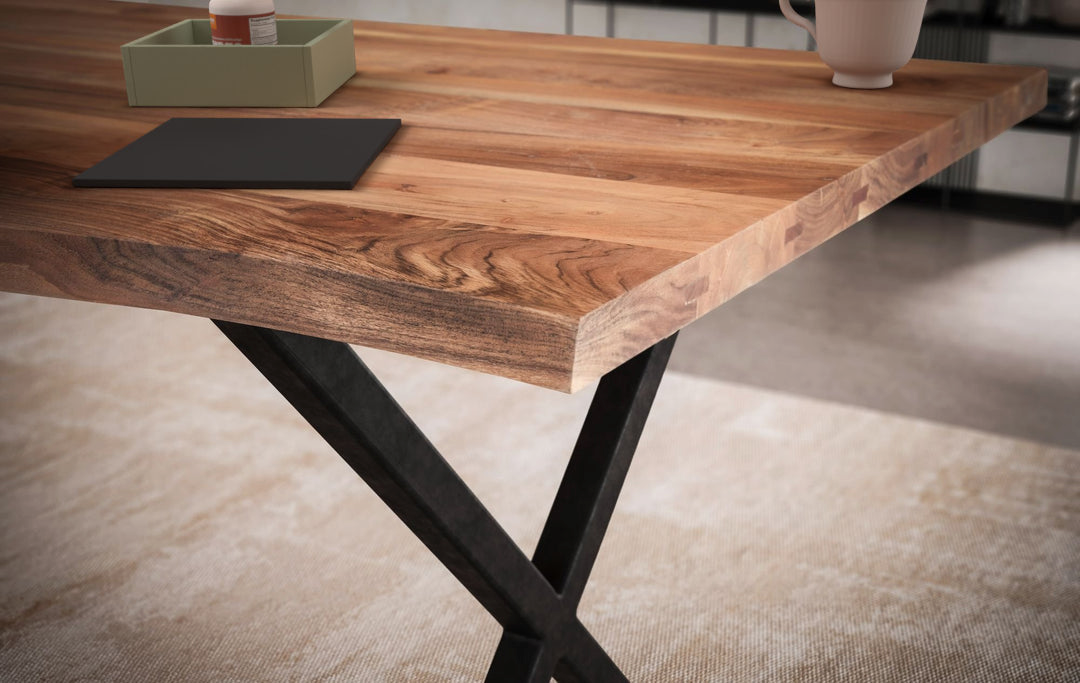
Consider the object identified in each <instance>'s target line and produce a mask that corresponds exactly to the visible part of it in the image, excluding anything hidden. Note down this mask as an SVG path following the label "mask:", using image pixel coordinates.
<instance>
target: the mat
mask: <svg viewBox="0 0 1080 683" xmlns="http://www.w3.org/2000/svg"><path fill="white" fill-rule="evenodd" d="M402 124H403V123H402V118H378V117H377V118H376V117H375V118H372V117H371V118H366V117H365V118H360V117H357V118H356V117H355V118H354V117H353V118H350V117H345V118H343V117H342V118H341V117H338V118H337V117H312V118H311V117H171V118H169V119H168V120H166V121H164V122H162V123H161V124H159V125H157V126H156V127H154V128H153V129H151V130H150V131H148V132H145V134H143V135H141V136H140V137H138V138H137V139H135V140H133V141H132V142H130V143H128V144H127V145H125V146H123V147H122V148H120V149H117V151H115V152H113V153H112V154H110V155H109V156H107V157H105V158H104V159H102V160H100V161H99V162H97V163H95V164H94V165H92V166H90V167H88V168H87V169H86V170H84V171H83V172H81V173H79V174H77V175H76V176H74V177H73V178H71V182H72V187H74V188H78V187H80V188H172V189H173V188H174V189H175V188H177V189H178V188H179V189H180V188H181V189H182V188H183V189H186V188H187V189H282V190H283V189H284V190H285V189H286V190H287V189H288V190H291V189H293V190H295V189H297V190H298V189H299V190H352V189H353V187H354V186H355V185H356V184H357V182H358V181H359V180H360V179H361V177H362V176H363V175H364V173H365V172H366V171H367V170H368V169H369V167H370V166H371V165H372V164H373V162H374V161H375V160H376V158H377V157H378V156H379V154H380V153H381V152H382V151H383V150H384V148H386V146H387V144H388V143H389V142H390V140H392V138H393V137H394V136H395V134H396V133H397V132H398V131H399V129H400V128H401V126H402Z"/></svg>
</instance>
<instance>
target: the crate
mask: <svg viewBox="0 0 1080 683" xmlns="http://www.w3.org/2000/svg"><path fill="white" fill-rule="evenodd" d="M275 19H276V31H277V42H278V45H213V40H212V31H211V22H210V18H186V19H184V20H182V21H179V22H177V23H174V24H172V25H170V26H167V27H165V28H161V29H160V30H157V31H154V32H152V33H149V34H147V35H144V36H142V37H140V38H138V39H135V40H132V41H130V42H127V43H124V44H122V45H120V54H121V59H122V67H123V74H124V79H125V86H126V94H127V100H128V106H129V107H162V108H163V107H164V108H165V107H166V108H167V107H174V108H176V107H177V108H178V107H179V108H180V107H183V108H185V107H187V108H188V107H192V108H193V107H195V108H198V107H199V108H200V107H201V108H203V107H204V108H205V107H206V108H229V107H230V108H317V107H318V106H319V105H321V103H323V102H324V101H325V100H326V99H327V98H328V97H330V96H331V95H332V94H333V93H335V92H336V91H337V90H338V89H339V88H340V87H341V86H343V84H345V83H346V82H347V81H349V79H350V78H352V77H353V76H354V75H355V74H357V62H356V61H357V60H356V59H357V58H356V47H355V46H356V45H355V33H354V32H355V31H354V19H353V18H275Z"/></svg>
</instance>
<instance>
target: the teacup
mask: <svg viewBox="0 0 1080 683" xmlns="http://www.w3.org/2000/svg"><path fill="white" fill-rule="evenodd" d="M806 1H807V2H809V1H811V0H806ZM778 2H779V3H778V4H779V7H780V10H781V12H782V15H784V17H785V18H786V19H787V20H788V21H789V22H791V23H792V24H794V25H795V26H799V27H800V28H802V29H805V30H806V31H807V32H808V33H809V34H810V35H811V36H812V38H813V39H814V41H815V43H816V45H817V46H816V47H817V51H818V56H819V58H820V60H821V61H822V62H823V63H824V64H825V65H826V66H827V67H828V68H830V69H832V71H834V72H833V73H834V74H833V77H832V84H834V85H836V86H837V87H838V86H839V87H843V88H849V89H861V90H863V89H864V90H867V89H868V90H872V89H873V90H874V89H875V90H876V89H884V88H889V87H890V86H892V85H893V74H894V72H896V71H898V70H900V69H902V68H903V67H904V66H905V65H907V64H908V63H909V61H910V60H911V59H912V57H913V55H914V52H915V49H916V47H917V44H918V40H919V36H920V31H921V27H922V23H923V18H924V14H925V9H926V7H927V2H928V0H814V6H815V24H814V23H813V22H811V21H810V20H808V19H807V18H805V17H803V16H801V15H800V14H798V13H797V12H796V11H795V10H794V9H793V7H792V5H791V4H790V0H779V1H778Z"/></svg>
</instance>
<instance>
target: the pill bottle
mask: <svg viewBox="0 0 1080 683" xmlns="http://www.w3.org/2000/svg"><path fill="white" fill-rule="evenodd" d="M208 12H209V19H210V22H211V31H212V40H213V45H278V42H277V31H276V19H277V18H276V10H275V4H274V1H273V0H210V1H209V4H208Z"/></svg>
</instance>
